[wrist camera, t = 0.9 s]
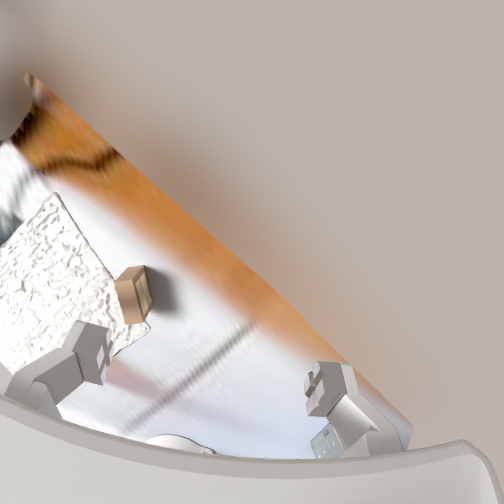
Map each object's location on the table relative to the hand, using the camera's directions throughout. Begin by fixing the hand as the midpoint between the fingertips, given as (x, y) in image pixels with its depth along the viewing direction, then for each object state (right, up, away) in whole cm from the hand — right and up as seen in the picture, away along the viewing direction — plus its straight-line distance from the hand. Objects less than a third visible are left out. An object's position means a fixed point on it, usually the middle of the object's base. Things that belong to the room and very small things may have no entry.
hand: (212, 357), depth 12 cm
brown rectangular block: (-18, -2, +41) cm, 45 cm away
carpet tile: (-41, -8, +41) cm, 58 cm away
